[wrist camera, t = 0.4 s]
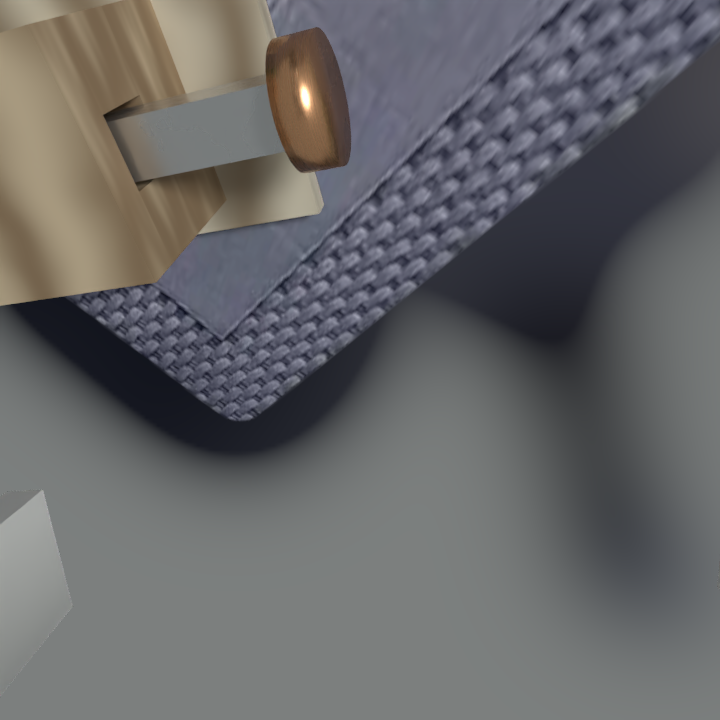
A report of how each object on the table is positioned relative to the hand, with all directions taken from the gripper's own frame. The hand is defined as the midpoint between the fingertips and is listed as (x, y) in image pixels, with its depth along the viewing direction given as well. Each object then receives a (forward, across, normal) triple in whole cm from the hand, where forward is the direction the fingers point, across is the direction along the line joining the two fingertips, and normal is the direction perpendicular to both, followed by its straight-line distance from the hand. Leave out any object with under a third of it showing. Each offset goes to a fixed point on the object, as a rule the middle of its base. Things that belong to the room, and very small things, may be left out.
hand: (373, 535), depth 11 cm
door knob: (+23, -9, +11) cm, 28 cm away
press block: (+30, -16, +13) cm, 36 cm away
